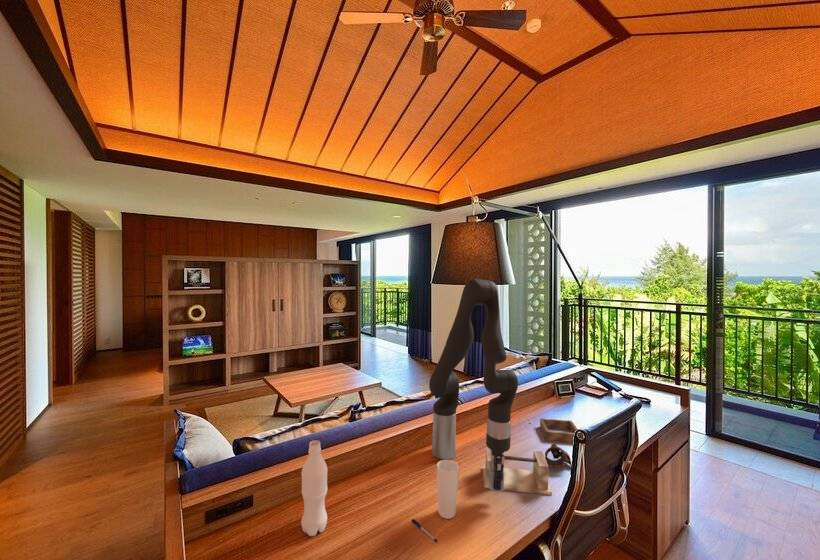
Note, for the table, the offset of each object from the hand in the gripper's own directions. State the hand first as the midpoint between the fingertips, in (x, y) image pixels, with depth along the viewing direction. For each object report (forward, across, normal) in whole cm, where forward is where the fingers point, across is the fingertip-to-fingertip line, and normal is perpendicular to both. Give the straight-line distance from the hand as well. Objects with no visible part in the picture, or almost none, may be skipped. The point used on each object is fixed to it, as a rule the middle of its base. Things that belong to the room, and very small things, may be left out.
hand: (496, 483), depth 112 cm
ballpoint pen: (+7, +17, -21) cm, 28 cm away
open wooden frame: (+6, -53, +32) cm, 63 cm away
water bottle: (+7, +22, -52) cm, 57 cm away
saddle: (+1, 0, 0) cm, 1 cm away
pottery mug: (+6, -27, +25) cm, 37 cm away
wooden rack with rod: (+6, -13, +8) cm, 16 cm away
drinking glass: (+6, +8, -15) cm, 18 cm away
